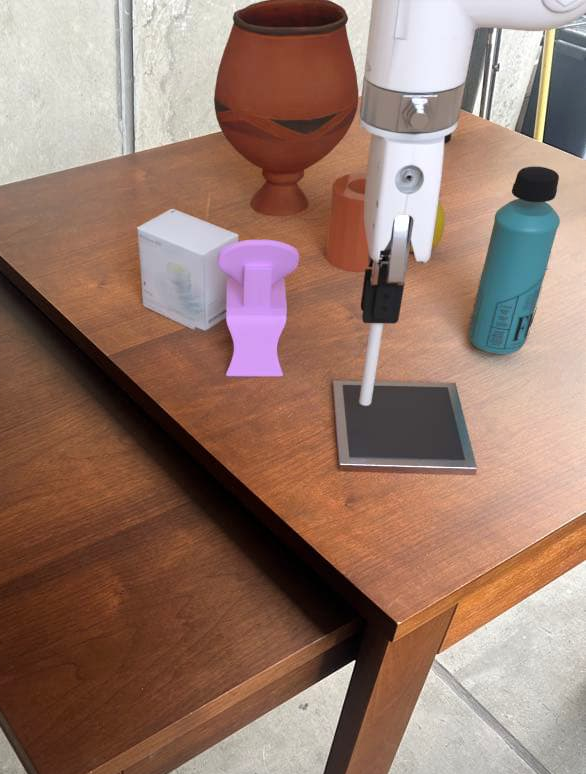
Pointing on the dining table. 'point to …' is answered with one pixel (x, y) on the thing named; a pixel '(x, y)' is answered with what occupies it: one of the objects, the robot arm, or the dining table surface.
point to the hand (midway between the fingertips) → (378, 314)
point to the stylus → (371, 361)
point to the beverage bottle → (515, 263)
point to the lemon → (437, 227)
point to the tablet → (402, 429)
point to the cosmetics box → (184, 268)
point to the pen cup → (348, 224)
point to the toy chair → (256, 302)
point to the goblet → (286, 93)
